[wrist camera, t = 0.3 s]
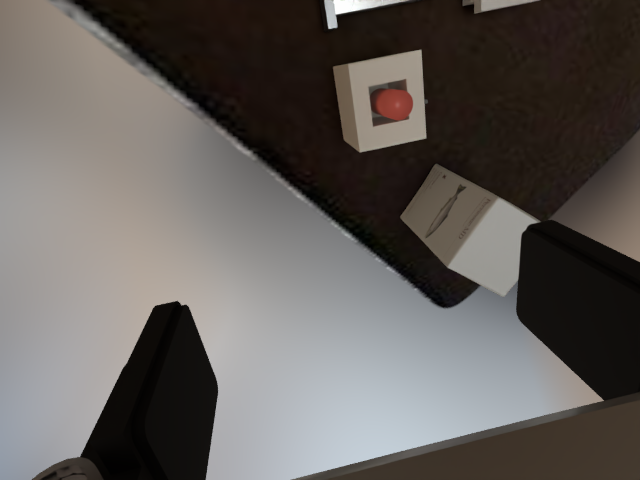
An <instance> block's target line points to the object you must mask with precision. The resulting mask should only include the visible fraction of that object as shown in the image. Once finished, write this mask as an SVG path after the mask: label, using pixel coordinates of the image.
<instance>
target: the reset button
mask: <svg viewBox="0 0 640 480" xmlns="http://www.w3.org/2000/svg"><path fill="white" fill-rule="evenodd" d="M370 106H371V111H372V112H373V113H375V114H378V115H381V116H384V117H387V118H390V119H393V120H403V119H405V118H406V117H407V116H408V115H409V114H410V113H411V111H412V108H413V99H412V97H411V95H410V94H409V93H408V92H406V91H404V90H396V89H385V88H379V89H376V90H375V91H373V92H372V94H371V95H370Z"/></svg>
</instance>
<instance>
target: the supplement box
mask: <svg viewBox="0 0 640 480" xmlns="http://www.w3.org/2000/svg"><path fill="white" fill-rule="evenodd" d="M400 218H401V219H402V220H403V221H404V223H405V224H406V225H407V226H408V227H409V228H410V229H411V230H412V231H413V232H414V233H415V234H416V235H417V236H418V237H419V238H420V239H421V240H422V241H423V242H424V243H425V244H426V245H427V246H428V247H429V248H430V249H431V251H432V252H433V253H434V254H435V255H436V256H437V257H438V258H439V259H440V260H441V261H442V262H443V263H444V264H445V265H446V266H447V267H448V268H450V269H452V270H454V271H456V272H458V273H459V274H461V275H463V276H465V277H467V278H469V279H470V280H472V281H474V282H476V283H478V284H480V285H481V286H483V287H485V288H487V289H489V290H491V291H493V292H494V293H496V294H498V295H500V296H501V297H504V296H505V295H506V294H507V293H508V292H509V290H510V289H511V288H512V287H513V286H514V284H515V283H516V282H517V281H518V276H519V261H520V247H521V235H522V233H523V232H524V231H525V230H526V228H527V226H528V225H530V224H534V223H538V222H541V221H539V220H537V219H536V218H534V217H533V216H531V215H529V214H528V213H526V212H524V211H523V210H521V209H519V208H518V207H516V206H514V205H513V204H511V203H509V202H507V201H505V200H504V199H502V198H500V197H498V196H496V195H494V194H493V193H491V192H489V191H487V190H485V189H483V188H481V187H479V186H477V185H476V184H474V183H472V182H470V181H468V180H466V179H464V178H462V177H460V176H458V175H457V174H455V173H453V172H451V171H449V170H447V169H445V168H443V167H442V166H440V165H438V164H435V165H434V166H433V168H432V170H431V171H430V173H429V175H428V176H427V178H426V180H425V181H424V183H423V184H422V186H421V187H420V189H419V190H418V192H417V193H416V195H415V196H414V198H413V199H412V201H411V202H410V204H409V205H408V206H407V208H406V209H405V211H404V212H403V213H402V215H401V216H400Z"/></svg>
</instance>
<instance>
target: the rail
mask: <svg viewBox="0 0 640 480" xmlns="http://www.w3.org/2000/svg"><path fill="white" fill-rule="evenodd" d="M319 1H320V7H321V14H322V20H323V27H324V32H327V31H333V30H334V29H336V28H337V20H336V17H339V16H344V15H350V14H355V13H360V12H365V11H370V10H375V9H381V8H386V7H391V6H396V5H401V4H406V3H412V2H417V1H422V0H319Z"/></svg>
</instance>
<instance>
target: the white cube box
mask: <svg viewBox="0 0 640 480" xmlns="http://www.w3.org/2000/svg"><path fill="white" fill-rule="evenodd" d="M333 71H334V78H335V85H336V91H337V98H338V105H339V111H340V118H341V124H342V131H343V138H344V141H346V142H347V143H348V144H350V145H351V146H352V147H353V148H355V149H356V150H357V151H359V152H365V151H369V150H374V149H379V148H383V147H388V146H393V145H397V144H402V143H407V142H411V141H416V140H421V139H425V138H426V124H425V106H424V104H426V103H428V101H427V99H424V89H423V72H422V54H421V50H417V51H411V52H406V53H400V54H394V55H389V56H384V57H379V58H374V59H369V60H364V61H359V62H354V63H349V64H344V65H339V66H334V67H333ZM379 88H385V89H396V90H404V91H406V92H408V93H409V94H410V95H411V97H412V99H413V108H412V111H411V113H410V114H409V115H408V116H407V117H406V118H405V119H403V120H393V119H390V118H387V117H384V116H381V115H378V114H375V113H373V112H372V111H371V106H370V95H371V94H372V92H373V91H375V90H376V89H379Z"/></svg>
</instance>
